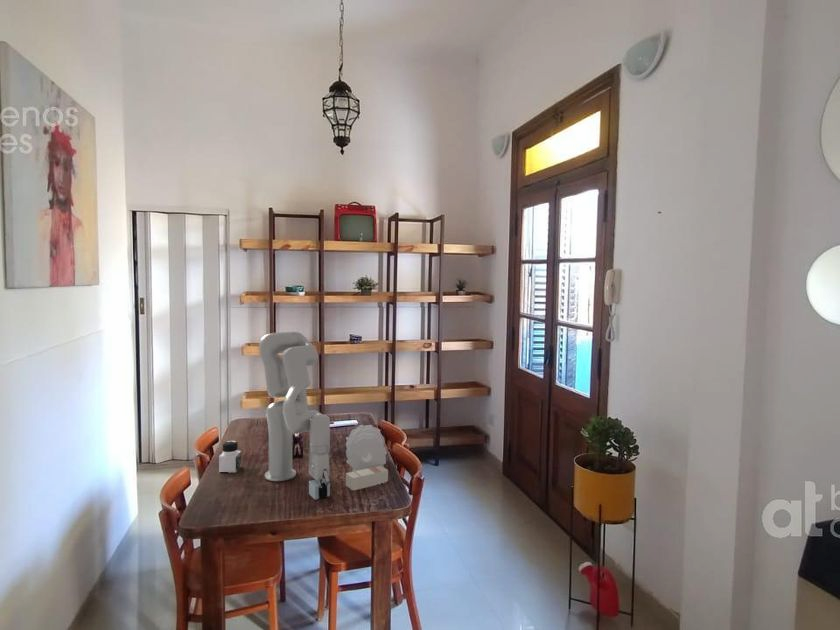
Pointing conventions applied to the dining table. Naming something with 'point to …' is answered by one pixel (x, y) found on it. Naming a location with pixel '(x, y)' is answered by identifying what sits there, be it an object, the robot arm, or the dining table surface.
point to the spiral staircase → (365, 448)
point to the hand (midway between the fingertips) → (319, 493)
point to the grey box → (317, 489)
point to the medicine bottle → (230, 457)
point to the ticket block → (366, 477)
